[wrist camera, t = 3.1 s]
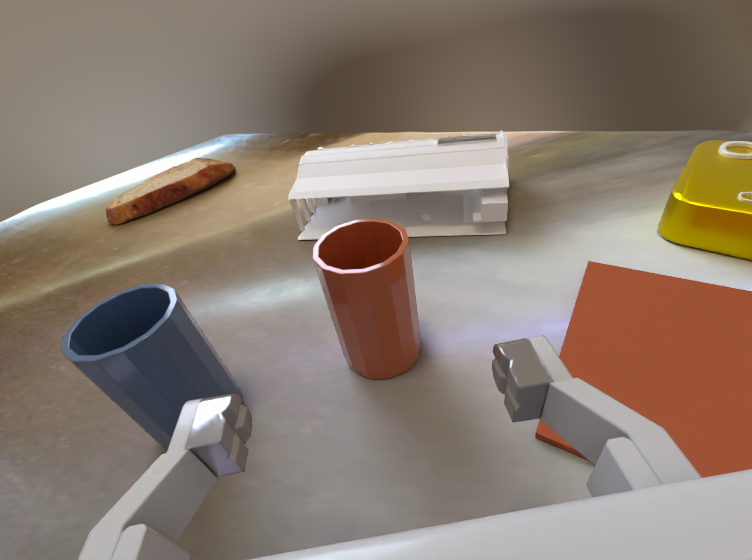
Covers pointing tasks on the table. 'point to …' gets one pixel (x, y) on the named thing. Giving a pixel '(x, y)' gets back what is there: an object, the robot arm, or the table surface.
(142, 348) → the blue cup
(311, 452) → the table surface
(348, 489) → the table surface
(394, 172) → the model shed
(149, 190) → the bread slice
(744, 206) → the element tile
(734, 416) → the terracotta mat
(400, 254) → the terracotta cup
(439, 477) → the table surface
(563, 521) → the robot arm
